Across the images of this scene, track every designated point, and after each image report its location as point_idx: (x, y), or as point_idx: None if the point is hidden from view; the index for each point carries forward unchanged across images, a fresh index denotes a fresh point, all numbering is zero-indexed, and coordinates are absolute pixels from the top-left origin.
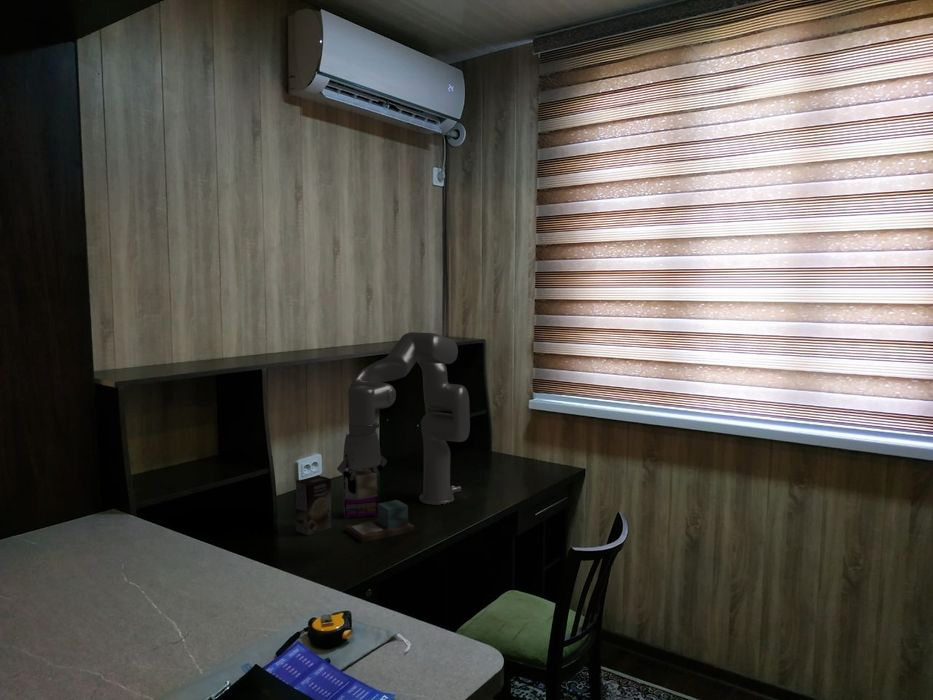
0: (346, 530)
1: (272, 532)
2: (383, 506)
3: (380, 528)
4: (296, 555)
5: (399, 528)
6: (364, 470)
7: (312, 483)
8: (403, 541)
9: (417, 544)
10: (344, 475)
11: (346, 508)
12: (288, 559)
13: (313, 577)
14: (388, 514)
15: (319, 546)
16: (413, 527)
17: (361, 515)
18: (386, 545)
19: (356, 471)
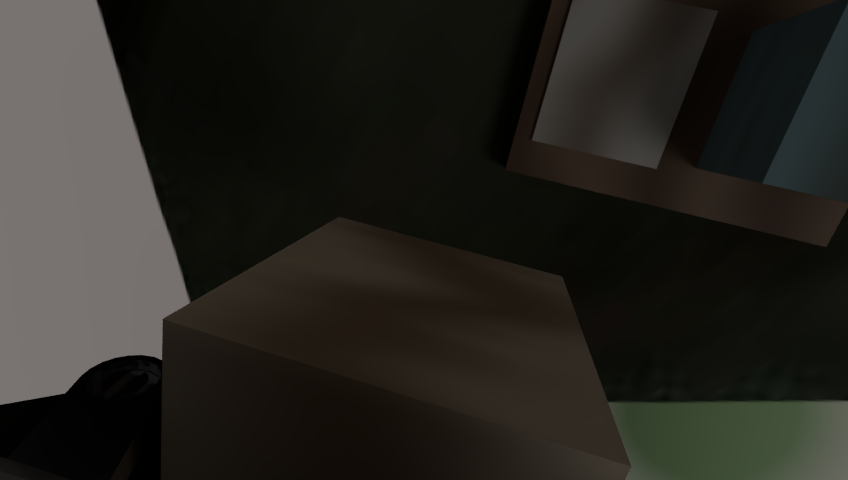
0: None
1: None
2: (812, 93)
3: (663, 141)
4: (220, 72)
5: (738, 210)
6: (504, 472)
7: None
8: (644, 293)
9: (655, 359)
10: (5, 421)
11: None
12: (180, 86)
13: (190, 284)
14: (744, 178)
15: (339, 55)
16: (813, 242)
17: None
18: (556, 269)
19: (328, 386)
